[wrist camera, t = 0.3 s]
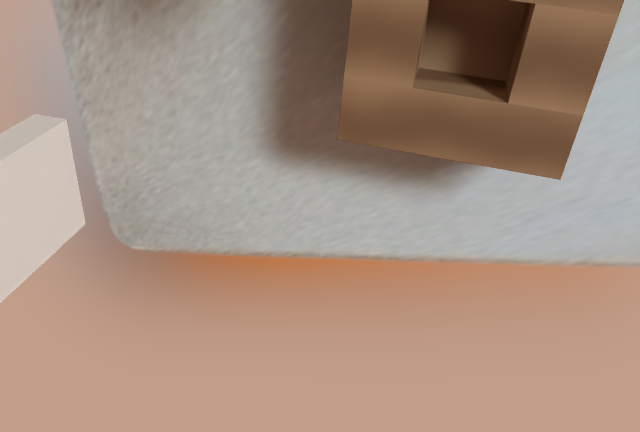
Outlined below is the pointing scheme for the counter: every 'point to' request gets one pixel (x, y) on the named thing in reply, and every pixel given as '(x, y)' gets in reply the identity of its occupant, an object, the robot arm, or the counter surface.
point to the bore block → (474, 78)
